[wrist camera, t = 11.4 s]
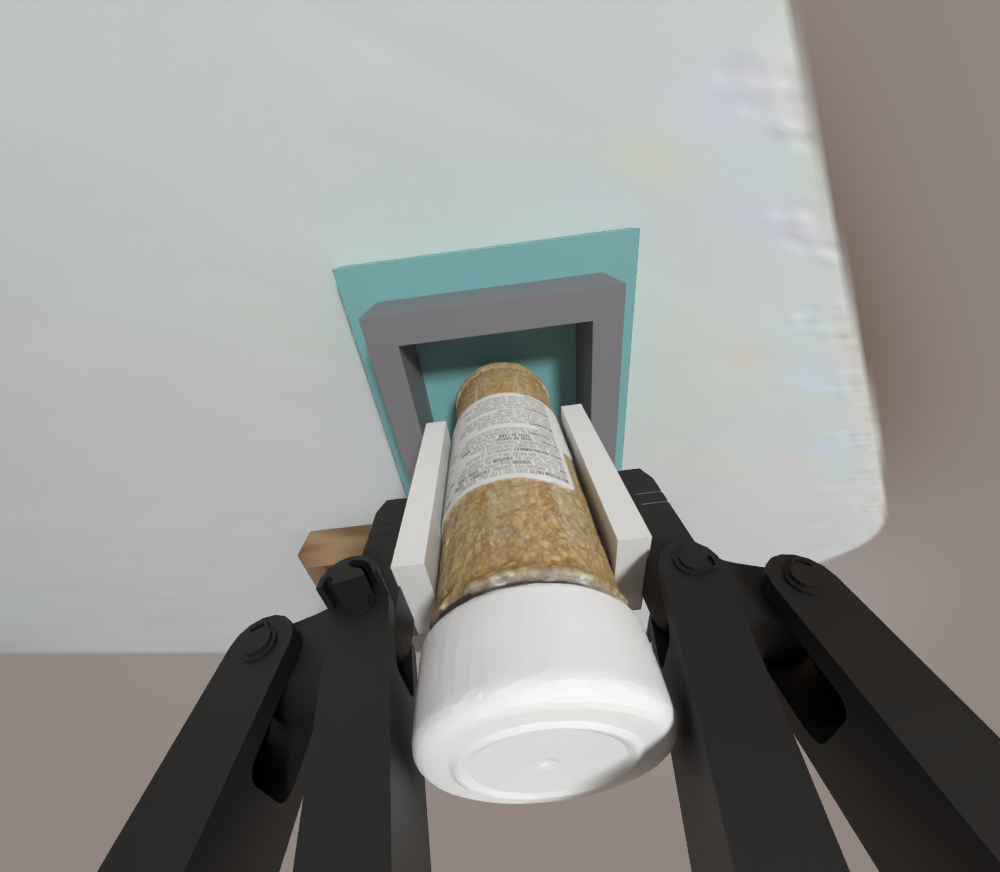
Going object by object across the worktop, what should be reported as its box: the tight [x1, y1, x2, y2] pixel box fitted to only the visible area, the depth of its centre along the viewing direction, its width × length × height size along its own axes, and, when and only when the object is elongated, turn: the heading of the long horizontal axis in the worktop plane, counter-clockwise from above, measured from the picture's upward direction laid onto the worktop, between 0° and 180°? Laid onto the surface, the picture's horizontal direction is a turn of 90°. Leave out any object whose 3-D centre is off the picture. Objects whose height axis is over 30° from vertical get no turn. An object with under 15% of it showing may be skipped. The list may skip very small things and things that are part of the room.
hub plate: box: [332, 228, 640, 498], centre depth 18 cm, size 13×13×4 cm
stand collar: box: [298, 525, 419, 635], centre depth 26 cm, size 10×10×2 cm
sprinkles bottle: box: [412, 362, 678, 804], centre depth 12 cm, size 5×5×13 cm
